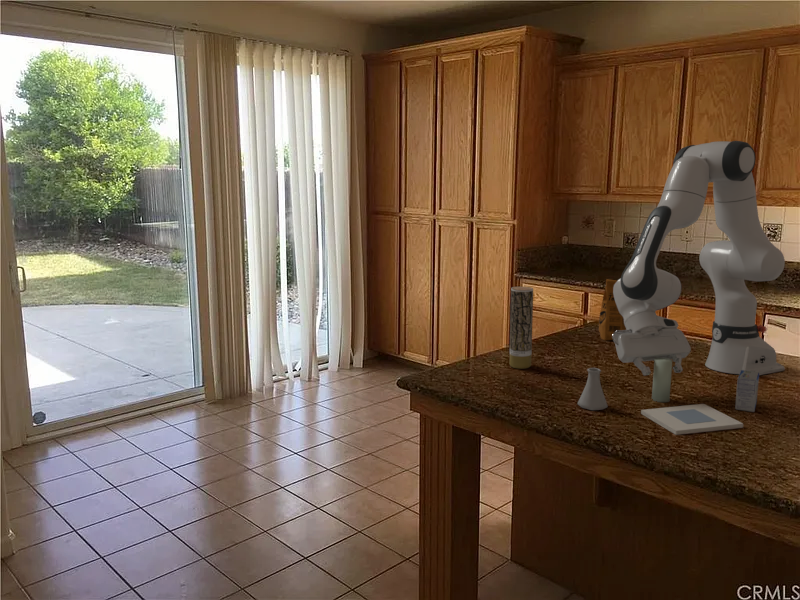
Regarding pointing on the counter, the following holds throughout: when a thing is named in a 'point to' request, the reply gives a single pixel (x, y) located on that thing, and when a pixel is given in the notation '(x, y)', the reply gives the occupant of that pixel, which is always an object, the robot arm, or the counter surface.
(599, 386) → the flask
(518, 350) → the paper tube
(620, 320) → the coffee package
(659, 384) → the pale green cylinder
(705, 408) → the card
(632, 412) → the counter surface
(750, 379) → the medicine box
